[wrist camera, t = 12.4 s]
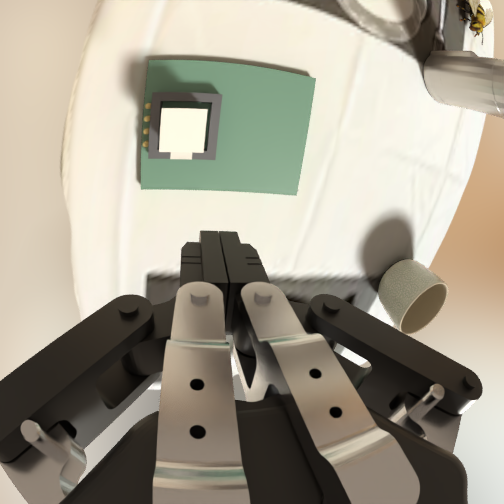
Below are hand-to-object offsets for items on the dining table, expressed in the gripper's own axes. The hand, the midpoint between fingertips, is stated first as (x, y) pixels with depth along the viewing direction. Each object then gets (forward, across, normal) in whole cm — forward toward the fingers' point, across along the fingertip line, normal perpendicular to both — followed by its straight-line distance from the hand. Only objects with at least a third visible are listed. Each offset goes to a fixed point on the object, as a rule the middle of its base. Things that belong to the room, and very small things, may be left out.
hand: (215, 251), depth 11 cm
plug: (+22, +2, -4) cm, 23 cm away
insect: (+25, -46, -43) cm, 67 cm away
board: (+24, -3, -4) cm, 24 cm away
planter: (+24, -39, +19) cm, 49 cm away
